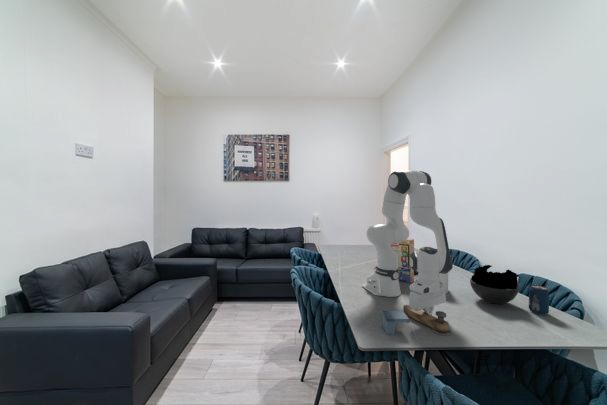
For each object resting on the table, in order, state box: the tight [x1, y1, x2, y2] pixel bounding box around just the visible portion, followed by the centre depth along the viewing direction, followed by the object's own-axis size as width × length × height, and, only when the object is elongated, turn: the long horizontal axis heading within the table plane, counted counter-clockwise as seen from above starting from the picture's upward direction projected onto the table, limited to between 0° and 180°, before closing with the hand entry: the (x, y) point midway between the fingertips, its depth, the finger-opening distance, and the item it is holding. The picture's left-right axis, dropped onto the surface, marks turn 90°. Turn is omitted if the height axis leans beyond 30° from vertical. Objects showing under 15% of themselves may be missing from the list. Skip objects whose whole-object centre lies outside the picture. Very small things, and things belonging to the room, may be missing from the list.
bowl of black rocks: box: [469, 264, 520, 305], centre depth 129 cm, size 20×20×19 cm
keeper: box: [381, 310, 410, 335], centre depth 102 cm, size 8×7×6 cm
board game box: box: [391, 238, 415, 284], centre depth 167 cm, size 20×6×27 cm, turn 46°
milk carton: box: [439, 272, 449, 294], centre depth 146 cm, size 7×7×19 cm
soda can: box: [528, 284, 550, 316], centre depth 118 cm, size 7×7×12 cm
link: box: [402, 304, 450, 333], centre depth 108 cm, size 21×6×7 cm, turn 28°
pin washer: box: [430, 327, 452, 336], centre depth 102 cm, size 7×7×1 cm
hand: (428, 315), depth 111 cm, fingers closed
